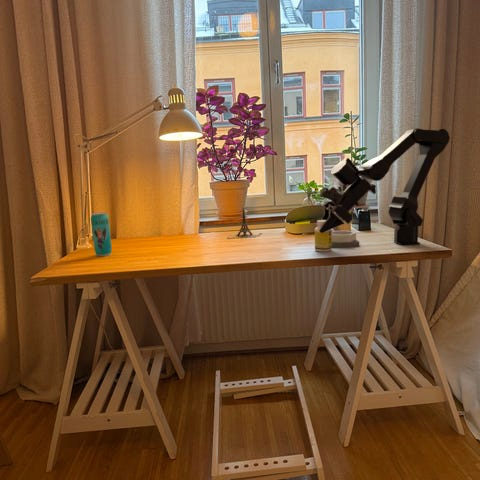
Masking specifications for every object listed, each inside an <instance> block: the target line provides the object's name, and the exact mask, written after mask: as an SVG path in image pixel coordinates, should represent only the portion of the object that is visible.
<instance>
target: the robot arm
mask: <svg viewBox="0 0 480 480" xmlns="http://www.w3.org/2000/svg"><path fill="white" fill-rule="evenodd" d="M450 140H451V137H450V133H449V131H447V130H446V129H445V128H438V129H423V128H411V129H410V128H409V129H407V130H406V131H405V132H404V134H402V135H401V136H400V137H399V138H398V139H397V140H396V141H395V142H394V143H392V144H391V145H390V146H389V147H388V148H387V149H385V150H384V151H383V152H382V153H381V154H379V155H378V156H376V157H374V158H371V159H370V160H368V161H366V162H365V163H363V164H362V165H361V167H357V166H356V165H355V164H354V163H353V162H352V160H351V159H350V158H349V157H345V158H344V159H342V160H341V161H340V162H338V163H337V164H336V165H334V166H333V167H332V169H331V171H330V173H331V175H332V176H334V178H336V180H337V181H338V182H339V183H340V184H341V185H342V186H347V187H346V188H345V189H344V190H341V191H339V192H338V189H337V188H336V187H333V186H331V187H329V188H327V187H325V186H322V188H321V191H320V193H319V197H321V198H323V199H328V200H325V201H324V203H323V204H322V206H323V215H322V217H321V219H320V220H326V221H325V223H324V224H323V226H322V227H321V229H320V230H319V231H320V232H321V233H323V232H325V231H328V230H330V229H331V230H332V229H335V228H337V227H339V226H342V225H345V224H347V225H349V224H350V223H351V222H353V214H352V213H351V210H352V209H354V207H357V206H358V205H359V204H360V203H359V202H360V201H361V200H362V199H363V198H364V197H365V196H366V195H367V194H369V193H371V194H374V195H375V194H376V193H377V189H376V187H377V186H376V185H377V184H373V183H370V182H369V181H373V182H379V181H381V180H382V179H384V178H385V177H386V175H387V174H388V173H389V171H390V169H391V166H392V165H393V164H394V163H395V162H396V161H397V160H398V159H400V158H401V157H402V156H403V155H404V154H405V153H406V152H407V151H408V150H410V148H412V147H413V146H414V145H415V144H417V145H418V148H419V150H418V151H419V154H418V157H417V159H416V162H415V164H414V167H413V169H412V170H411V173H410V175H409V178H408V180H407V181H406V184H405V187H404V188H403V190H402V193H401V194H400V195H399V196H397V195H393V197H392V200H391V202H390V204H389V205H388V208H389V209H388V215H389V217H390V219H391V220H392V225H395V228H394V231H393V232H394V233H393V234H394V235H393V237H394V238H393V242H394V243H396V244H398V245H401V246H405V245H419V244H421V243H420V242H419V227H421V226H422V225H423V222H424V219H423V218H422V217H421V216H420V215H419V213H418V208H419V202H418V201H419V200H418V198H419V195H420V193H421V191H422V188H423V186H424V184H425V181H426V179H427V177H428V176H429V172H430V170H431V169H432V166H433V164H434V161H435V159H436V158H437V157H438V156H439V155H440V154H441V153H442V152H444V150H445V148H446V147H447V146H448V144H449V143H450ZM368 192H369V193H368ZM317 226H318V225H317V224H316V227H317Z"/></svg>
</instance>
